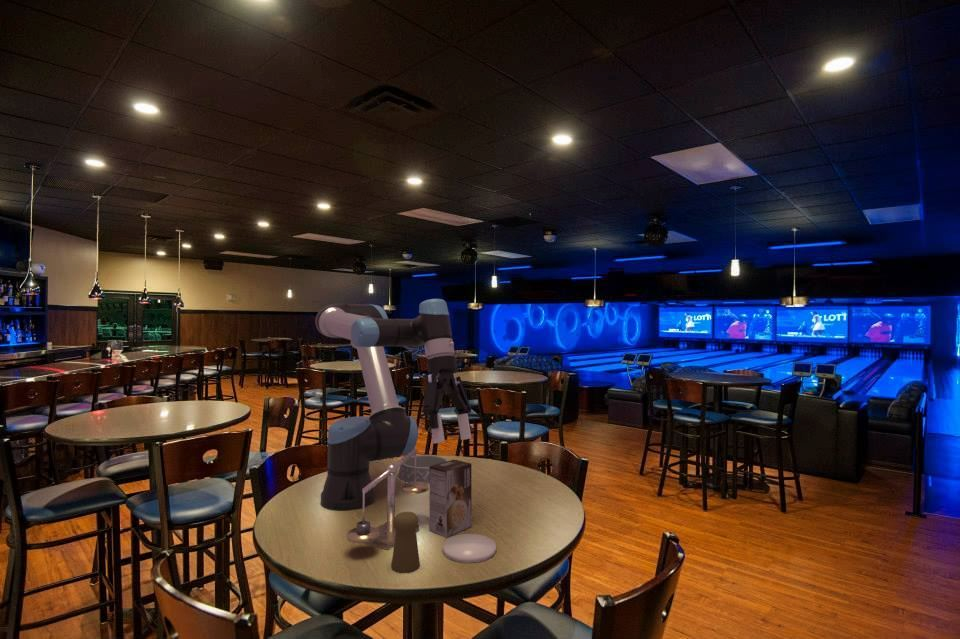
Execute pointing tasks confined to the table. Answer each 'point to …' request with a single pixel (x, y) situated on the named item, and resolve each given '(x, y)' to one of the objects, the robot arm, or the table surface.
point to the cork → (405, 543)
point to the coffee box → (450, 497)
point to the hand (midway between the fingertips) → (453, 441)
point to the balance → (386, 531)
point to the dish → (469, 548)
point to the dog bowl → (419, 468)
